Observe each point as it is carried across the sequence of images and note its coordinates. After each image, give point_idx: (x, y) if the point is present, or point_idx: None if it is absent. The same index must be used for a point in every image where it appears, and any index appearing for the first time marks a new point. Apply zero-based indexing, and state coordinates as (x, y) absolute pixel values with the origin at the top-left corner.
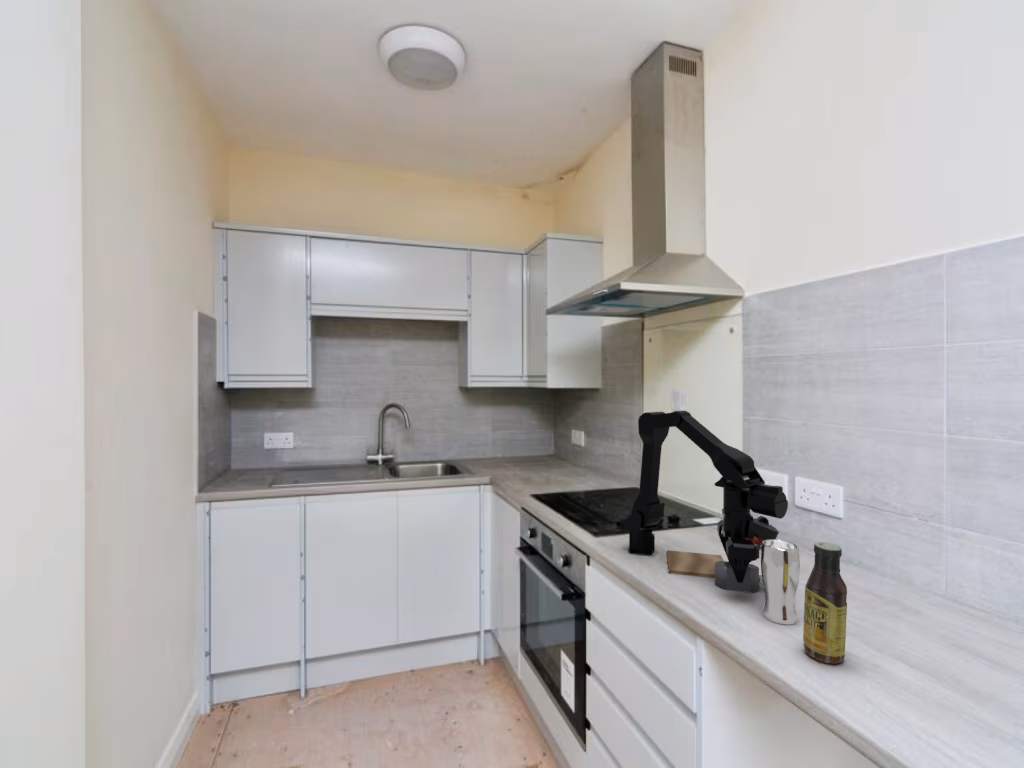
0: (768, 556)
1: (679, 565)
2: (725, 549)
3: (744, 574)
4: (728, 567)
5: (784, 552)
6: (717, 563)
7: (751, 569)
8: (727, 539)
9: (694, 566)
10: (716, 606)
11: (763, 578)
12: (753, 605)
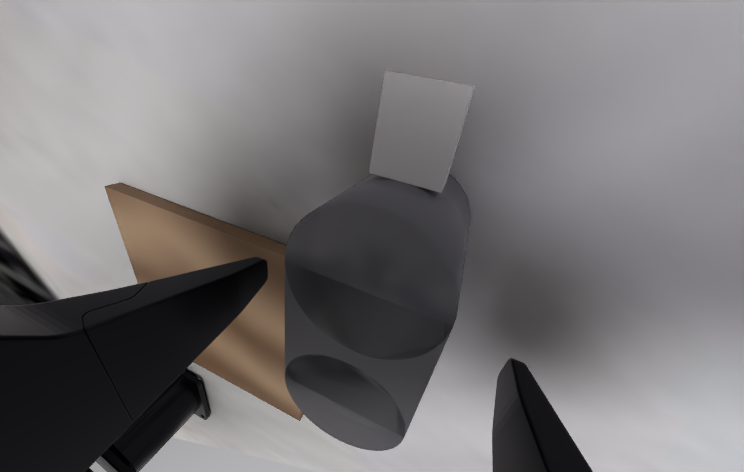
0: None
1: (256, 376)
2: (168, 379)
3: (574, 449)
4: (386, 419)
5: None
6: (327, 425)
7: (421, 299)
8: (43, 456)
9: (249, 339)
10: (613, 459)
11: None
12: (664, 311)
